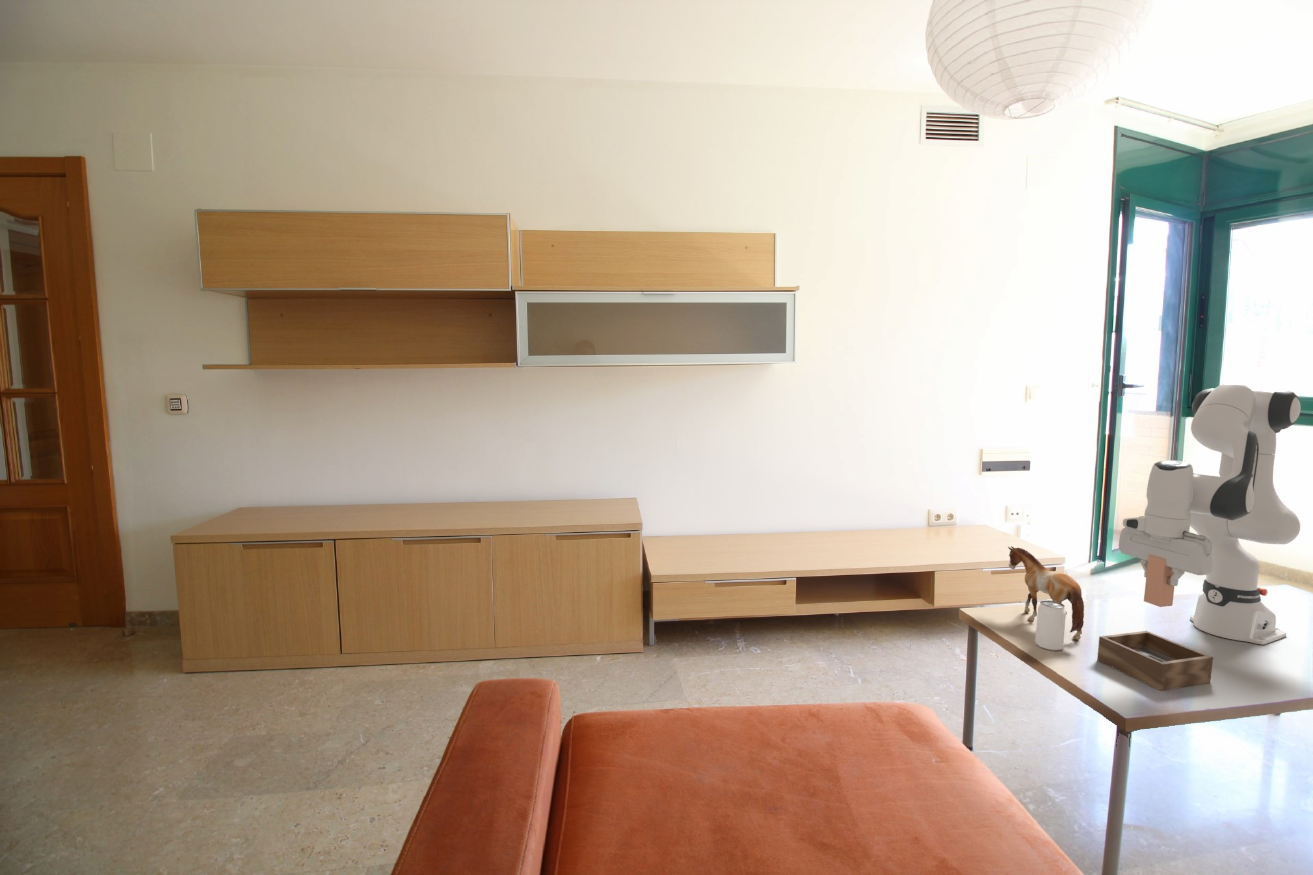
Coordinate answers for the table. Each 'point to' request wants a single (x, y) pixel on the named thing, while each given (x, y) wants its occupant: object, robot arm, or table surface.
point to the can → (1050, 625)
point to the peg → (1158, 582)
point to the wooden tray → (1155, 660)
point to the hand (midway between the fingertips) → (1160, 581)
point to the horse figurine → (1049, 587)
